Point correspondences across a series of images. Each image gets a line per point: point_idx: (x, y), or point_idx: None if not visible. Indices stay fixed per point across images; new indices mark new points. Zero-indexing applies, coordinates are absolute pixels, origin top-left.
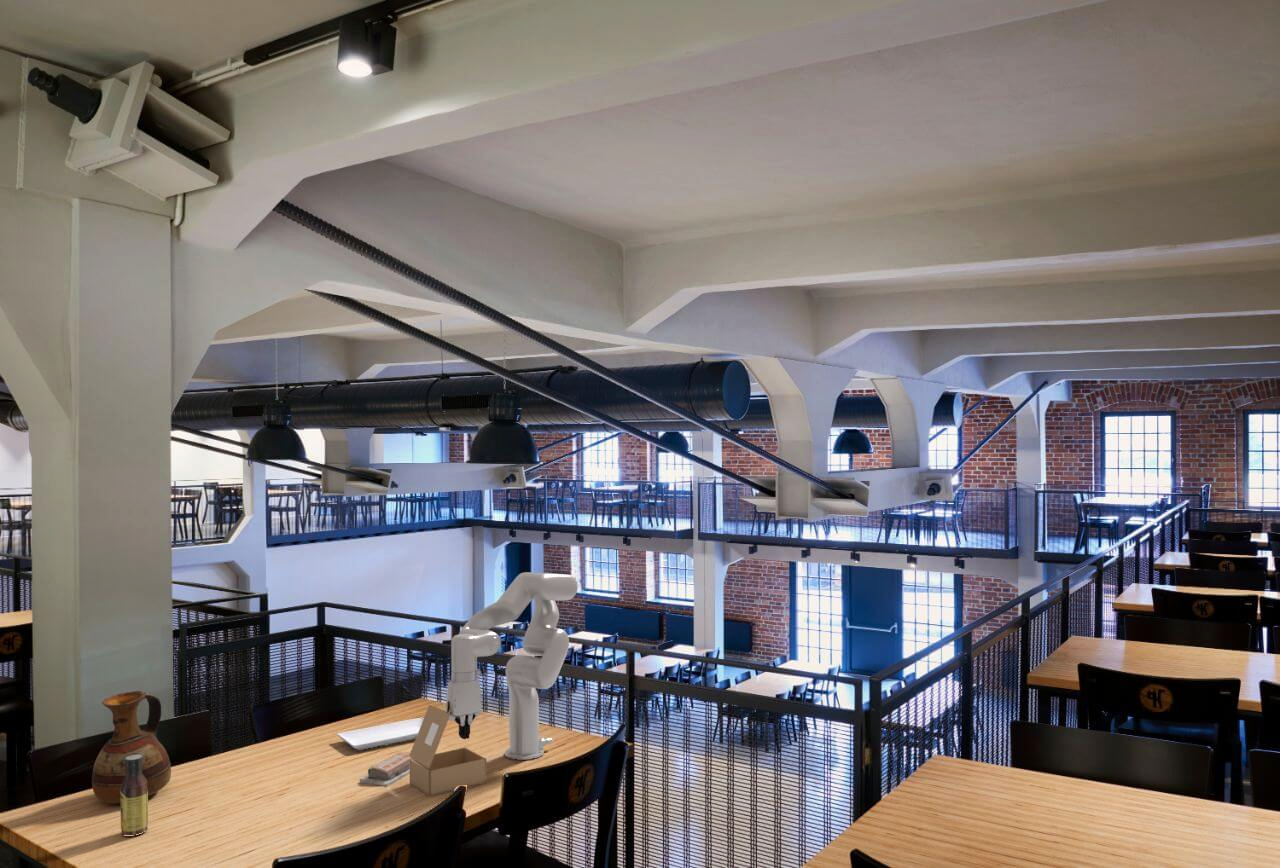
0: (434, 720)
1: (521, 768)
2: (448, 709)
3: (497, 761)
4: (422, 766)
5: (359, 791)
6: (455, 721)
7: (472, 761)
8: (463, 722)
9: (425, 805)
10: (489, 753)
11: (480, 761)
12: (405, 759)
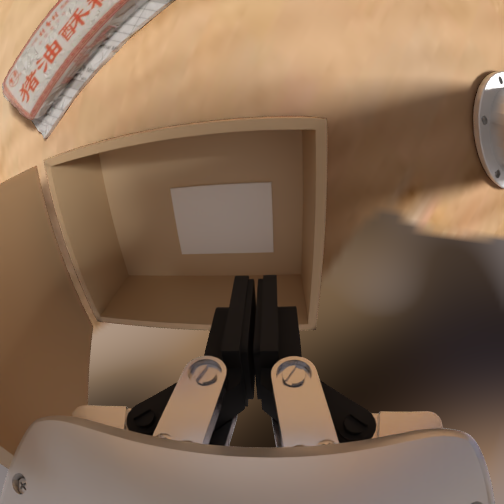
0: (6, 392)
1: (447, 229)
2: (38, 452)
3: (440, 116)
4: (76, 266)
5: (8, 147)
6: (156, 400)
7: None
8: (223, 427)
9: None
10: (448, 31)
11: None
12: (91, 20)
